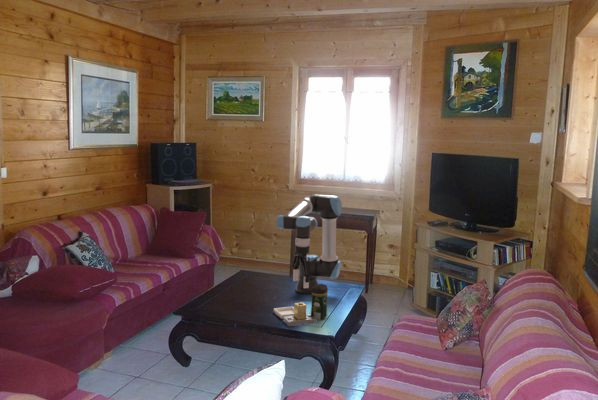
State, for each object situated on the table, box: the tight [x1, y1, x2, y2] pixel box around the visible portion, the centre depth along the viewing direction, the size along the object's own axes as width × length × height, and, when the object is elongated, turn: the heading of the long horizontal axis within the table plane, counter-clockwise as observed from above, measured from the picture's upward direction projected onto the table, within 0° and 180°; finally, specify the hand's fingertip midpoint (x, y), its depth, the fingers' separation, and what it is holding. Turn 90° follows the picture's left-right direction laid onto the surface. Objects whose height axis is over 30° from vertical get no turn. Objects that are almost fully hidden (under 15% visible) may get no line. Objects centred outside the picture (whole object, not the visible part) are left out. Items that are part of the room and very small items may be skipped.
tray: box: [273, 305, 294, 320], centre depth 290 cm, size 12×12×2 cm
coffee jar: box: [310, 283, 328, 321], centre depth 286 cm, size 10×8×19 cm
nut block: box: [293, 301, 308, 320], centre depth 279 cm, size 5×5×10 cm
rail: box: [282, 313, 317, 327], centre depth 279 cm, size 16×8×2 cm, turn 114°
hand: (300, 284), depth 277 cm, fingers open, 13 cm apart
